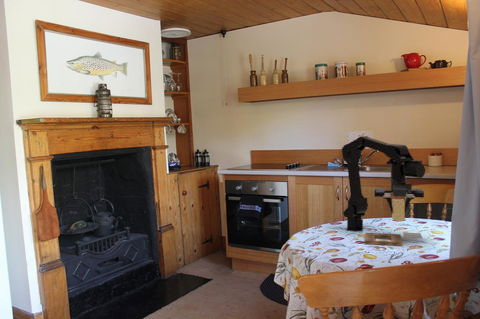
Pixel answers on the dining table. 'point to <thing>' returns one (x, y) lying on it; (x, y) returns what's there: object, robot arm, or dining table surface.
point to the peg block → (398, 209)
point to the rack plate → (377, 240)
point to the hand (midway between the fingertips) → (398, 213)
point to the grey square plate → (412, 235)
